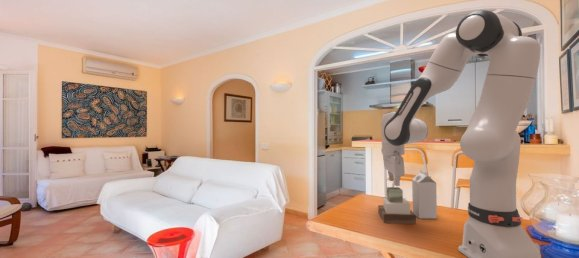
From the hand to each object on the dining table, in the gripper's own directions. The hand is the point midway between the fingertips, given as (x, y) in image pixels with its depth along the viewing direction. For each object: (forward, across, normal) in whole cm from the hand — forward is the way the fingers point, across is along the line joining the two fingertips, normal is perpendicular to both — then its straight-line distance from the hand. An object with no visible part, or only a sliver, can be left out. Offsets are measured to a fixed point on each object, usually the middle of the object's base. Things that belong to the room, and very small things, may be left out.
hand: (394, 183), depth 109 cm
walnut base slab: (+15, 0, 0) cm, 15 cm away
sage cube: (+7, -1, 0) cm, 7 cm away
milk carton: (+15, +4, -13) cm, 20 cm away
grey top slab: (+11, -1, 0) cm, 11 cm away
